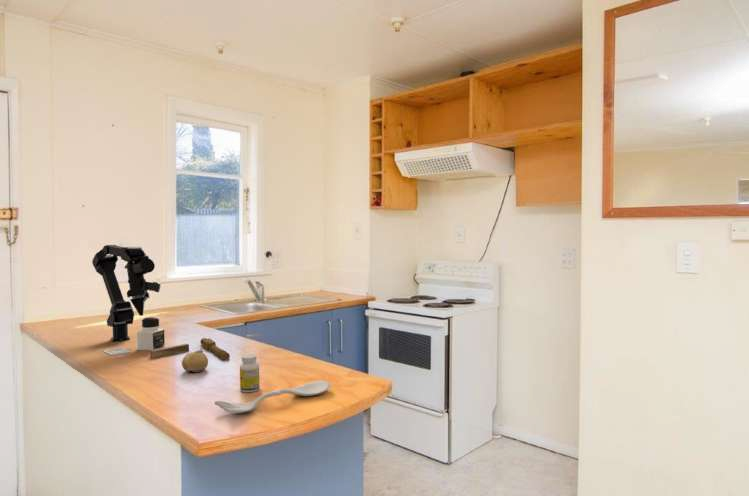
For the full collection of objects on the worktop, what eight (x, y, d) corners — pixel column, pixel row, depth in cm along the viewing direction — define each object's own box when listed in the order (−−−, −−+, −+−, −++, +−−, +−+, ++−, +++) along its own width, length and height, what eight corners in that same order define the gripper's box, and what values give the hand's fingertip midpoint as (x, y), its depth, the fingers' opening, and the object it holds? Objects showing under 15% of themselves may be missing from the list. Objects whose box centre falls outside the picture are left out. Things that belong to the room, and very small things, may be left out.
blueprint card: (102, 350, 190) (102, 350, 190) (122, 347, 194) (122, 347, 194) (110, 355, 182) (110, 354, 182) (130, 352, 187) (130, 351, 187)
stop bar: (150, 357, 180) (150, 350, 179) (186, 349, 190) (185, 343, 190) (153, 358, 178) (152, 351, 178) (189, 350, 189) (188, 344, 189)
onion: (192, 376, 156) (192, 353, 156) (176, 372, 161) (176, 350, 160) (213, 369, 163) (212, 348, 163) (197, 366, 167) (197, 345, 167)
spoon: (213, 413, 125) (213, 400, 125) (318, 386, 146) (318, 374, 146) (230, 423, 118) (229, 409, 118) (337, 393, 139) (336, 381, 139)
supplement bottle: (242, 387, 145) (241, 353, 144) (260, 386, 145) (260, 353, 145) (238, 393, 139) (237, 358, 139) (258, 392, 140) (257, 358, 139)
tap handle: (221, 353, 174) (199, 337, 199) (221, 361, 174) (199, 345, 199) (230, 351, 176) (207, 336, 201) (230, 360, 176) (207, 344, 201)
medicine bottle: (153, 351, 189) (152, 319, 189) (137, 350, 191) (136, 319, 190) (165, 346, 196) (164, 316, 196) (149, 345, 198) (148, 316, 197)
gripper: (155, 271, 194) (161, 310, 192) (159, 276, 212) (164, 312, 210) (124, 275, 190) (129, 316, 189) (130, 281, 208) (136, 318, 206)
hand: (141, 315), depth 198 cm, fingers closed
